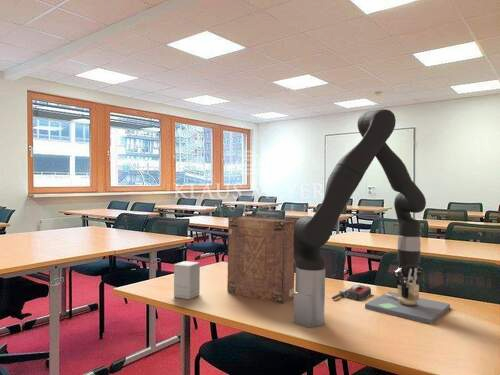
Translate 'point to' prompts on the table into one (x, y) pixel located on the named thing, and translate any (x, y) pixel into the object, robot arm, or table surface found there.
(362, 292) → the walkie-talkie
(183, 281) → the supplement box
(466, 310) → the table surface
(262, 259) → the book
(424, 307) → the grey flat square slab
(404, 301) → the tuning knob
